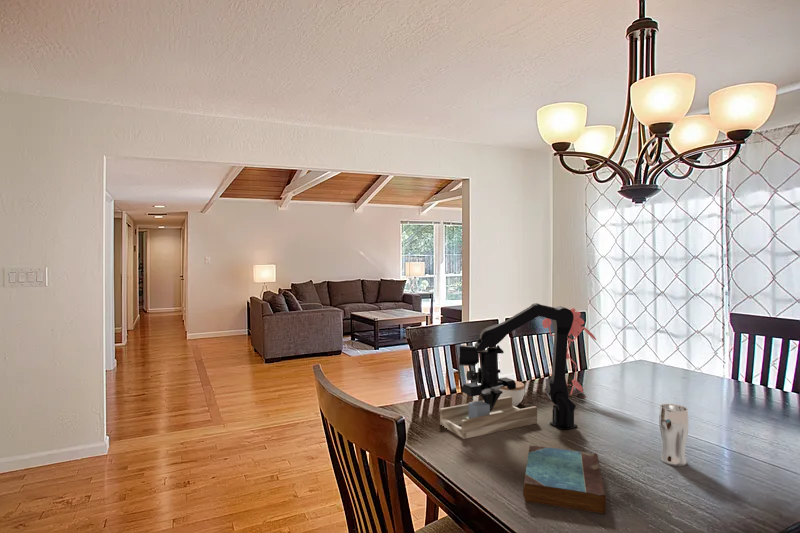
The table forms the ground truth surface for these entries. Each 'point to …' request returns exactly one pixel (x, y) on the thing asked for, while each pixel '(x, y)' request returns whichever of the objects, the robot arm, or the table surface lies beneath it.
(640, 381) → the table surface
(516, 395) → the lidded jar
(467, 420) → the tray
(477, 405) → the block
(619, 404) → the table surface
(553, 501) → the book
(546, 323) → the pink branch
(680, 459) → the beer glass
